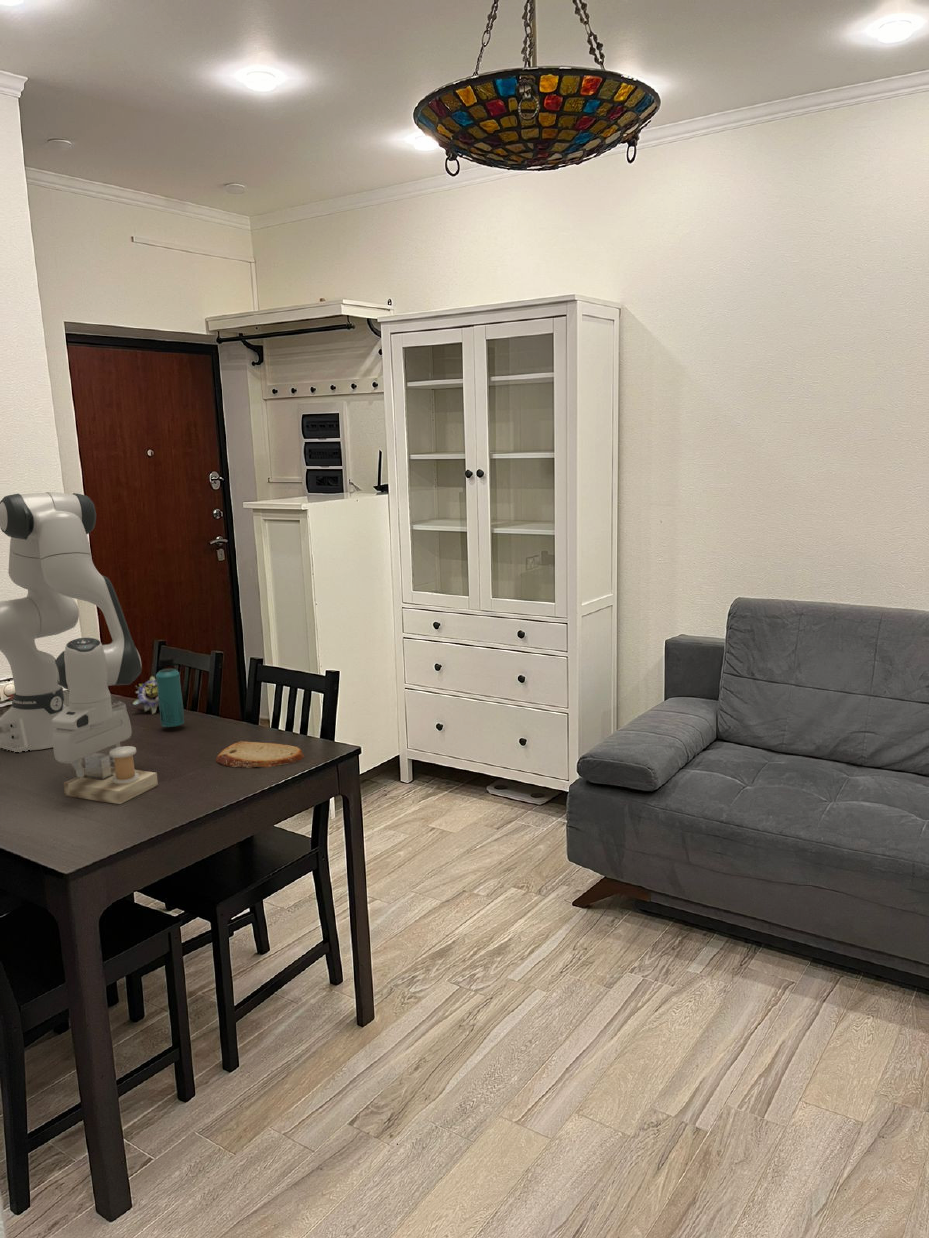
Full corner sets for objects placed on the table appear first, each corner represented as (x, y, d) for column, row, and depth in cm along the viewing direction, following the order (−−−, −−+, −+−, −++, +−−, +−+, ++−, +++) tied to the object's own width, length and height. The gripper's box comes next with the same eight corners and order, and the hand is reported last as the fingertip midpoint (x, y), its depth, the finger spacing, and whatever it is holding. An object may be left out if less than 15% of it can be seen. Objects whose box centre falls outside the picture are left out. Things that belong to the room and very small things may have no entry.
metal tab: (88, 789, 215) (84, 755, 214) (96, 785, 218) (92, 752, 216) (104, 791, 213) (100, 758, 212) (112, 788, 216) (109, 754, 214)
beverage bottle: (190, 727, 260) (184, 656, 256) (171, 733, 254) (164, 661, 251) (174, 723, 263) (167, 654, 260) (155, 730, 258) (148, 659, 254)
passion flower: (156, 731, 276) (128, 704, 270) (152, 715, 285) (125, 688, 279) (187, 706, 277) (160, 679, 271) (182, 691, 286) (156, 664, 280)
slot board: (64, 795, 212) (63, 782, 211) (104, 777, 223) (102, 765, 222) (120, 804, 206) (118, 791, 205) (157, 785, 216) (156, 772, 216)
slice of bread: (310, 760, 231) (309, 745, 230) (242, 778, 220) (241, 763, 219) (274, 743, 245) (273, 729, 244) (209, 760, 234) (208, 745, 233)
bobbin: (107, 782, 210) (103, 752, 209) (125, 774, 215) (122, 745, 214) (126, 785, 208) (123, 755, 207) (144, 777, 213) (141, 747, 212)
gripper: (114, 697, 223) (120, 753, 225) (45, 722, 204) (52, 783, 207) (135, 699, 220) (140, 756, 223) (67, 725, 202) (74, 786, 204)
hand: (97, 769), depth 215 cm, fingers open, 8 cm apart
